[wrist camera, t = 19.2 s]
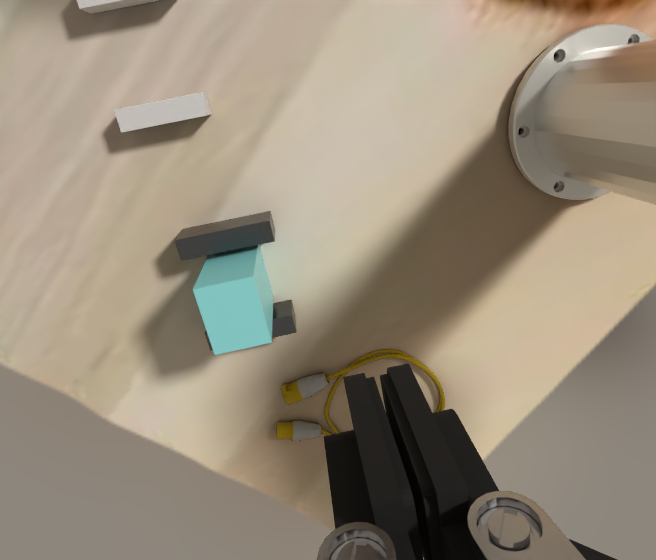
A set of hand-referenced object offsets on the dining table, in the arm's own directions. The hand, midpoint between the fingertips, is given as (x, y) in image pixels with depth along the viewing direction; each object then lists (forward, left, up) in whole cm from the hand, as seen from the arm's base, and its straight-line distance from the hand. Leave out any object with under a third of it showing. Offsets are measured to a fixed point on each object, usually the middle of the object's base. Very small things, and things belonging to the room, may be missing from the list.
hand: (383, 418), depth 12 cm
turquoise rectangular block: (+7, +5, -27) cm, 29 cm away
